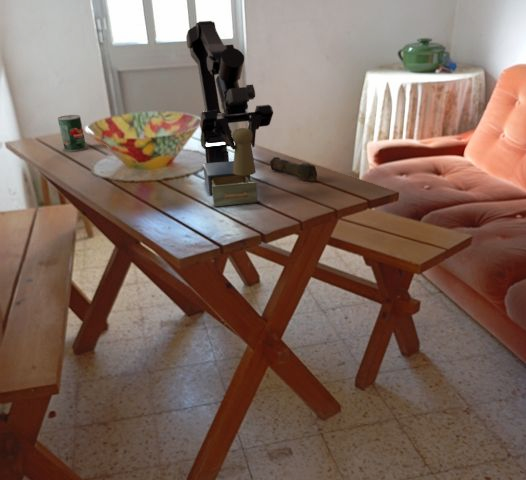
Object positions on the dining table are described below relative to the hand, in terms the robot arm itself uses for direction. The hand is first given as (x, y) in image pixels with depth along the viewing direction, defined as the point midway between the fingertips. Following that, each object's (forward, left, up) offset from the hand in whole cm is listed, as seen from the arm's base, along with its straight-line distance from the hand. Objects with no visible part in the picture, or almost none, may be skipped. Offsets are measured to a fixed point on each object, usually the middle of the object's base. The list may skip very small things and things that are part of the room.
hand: (243, 147), depth 144 cm
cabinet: (-10, +6, -13) cm, 18 cm away
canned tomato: (-88, +25, -13) cm, 92 cm away
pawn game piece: (-1, +1, -7) cm, 7 cm away
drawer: (-3, -3, -13) cm, 14 cm away
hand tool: (+3, +24, -13) cm, 27 cm away
